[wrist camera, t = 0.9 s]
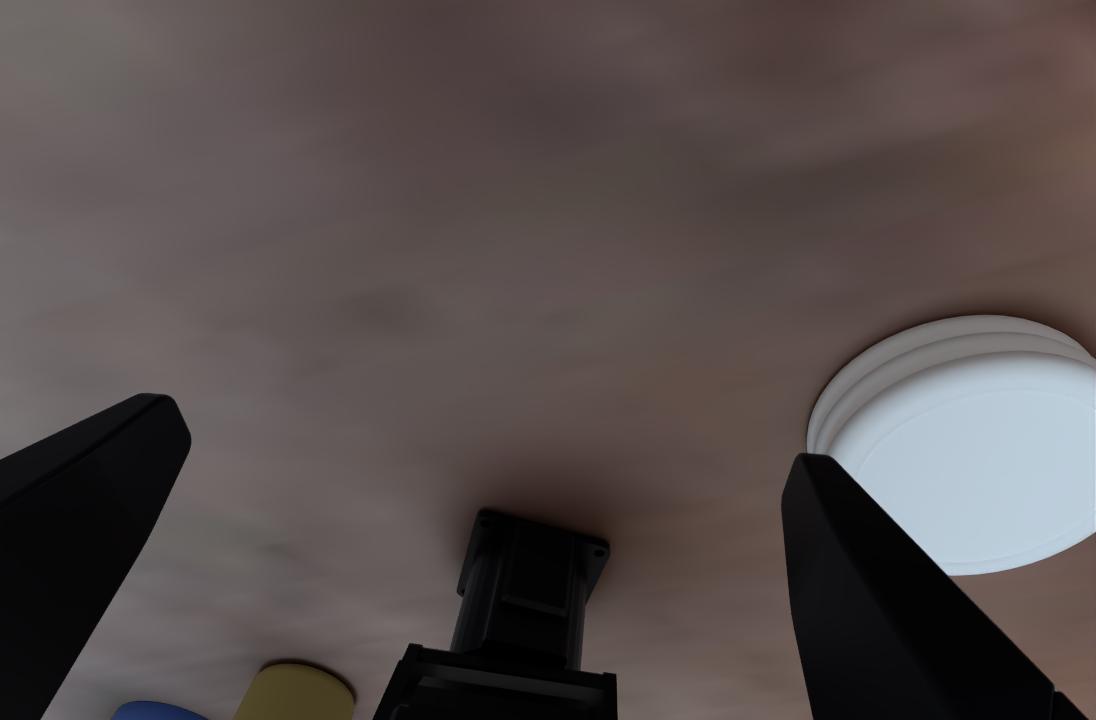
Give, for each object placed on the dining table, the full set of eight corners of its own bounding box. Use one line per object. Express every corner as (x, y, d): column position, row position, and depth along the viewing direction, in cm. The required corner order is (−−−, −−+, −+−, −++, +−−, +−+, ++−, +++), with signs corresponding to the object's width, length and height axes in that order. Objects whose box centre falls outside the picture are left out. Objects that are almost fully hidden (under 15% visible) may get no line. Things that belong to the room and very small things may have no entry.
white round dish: (788, 343, 23) (810, 401, 20) (1111, 277, 20) (1191, 333, 17) (816, 526, 28) (837, 595, 25) (1078, 494, 25) (1136, 566, 22)
